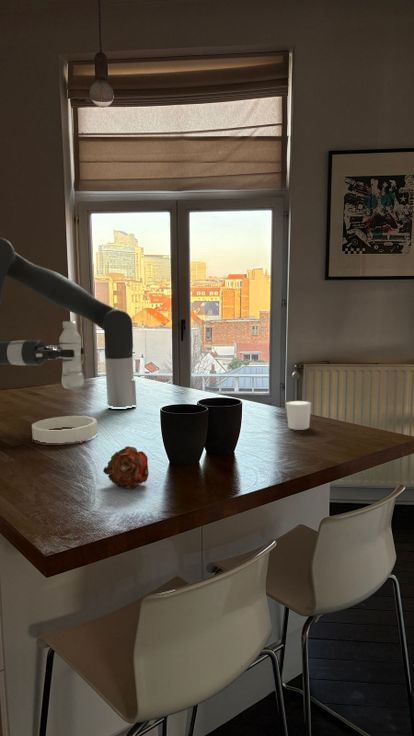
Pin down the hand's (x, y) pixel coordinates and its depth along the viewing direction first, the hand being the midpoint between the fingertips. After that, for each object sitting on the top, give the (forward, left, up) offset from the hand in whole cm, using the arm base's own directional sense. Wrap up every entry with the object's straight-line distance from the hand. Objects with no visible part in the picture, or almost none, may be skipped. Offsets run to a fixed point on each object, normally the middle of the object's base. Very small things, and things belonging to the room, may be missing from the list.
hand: (78, 352), depth 164 cm
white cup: (-56, +31, -22) cm, 67 cm away
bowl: (+6, +14, -22) cm, 26 cm away
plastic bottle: (+2, -1, -11) cm, 11 cm away
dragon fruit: (-3, +59, -22) cm, 63 cm away
